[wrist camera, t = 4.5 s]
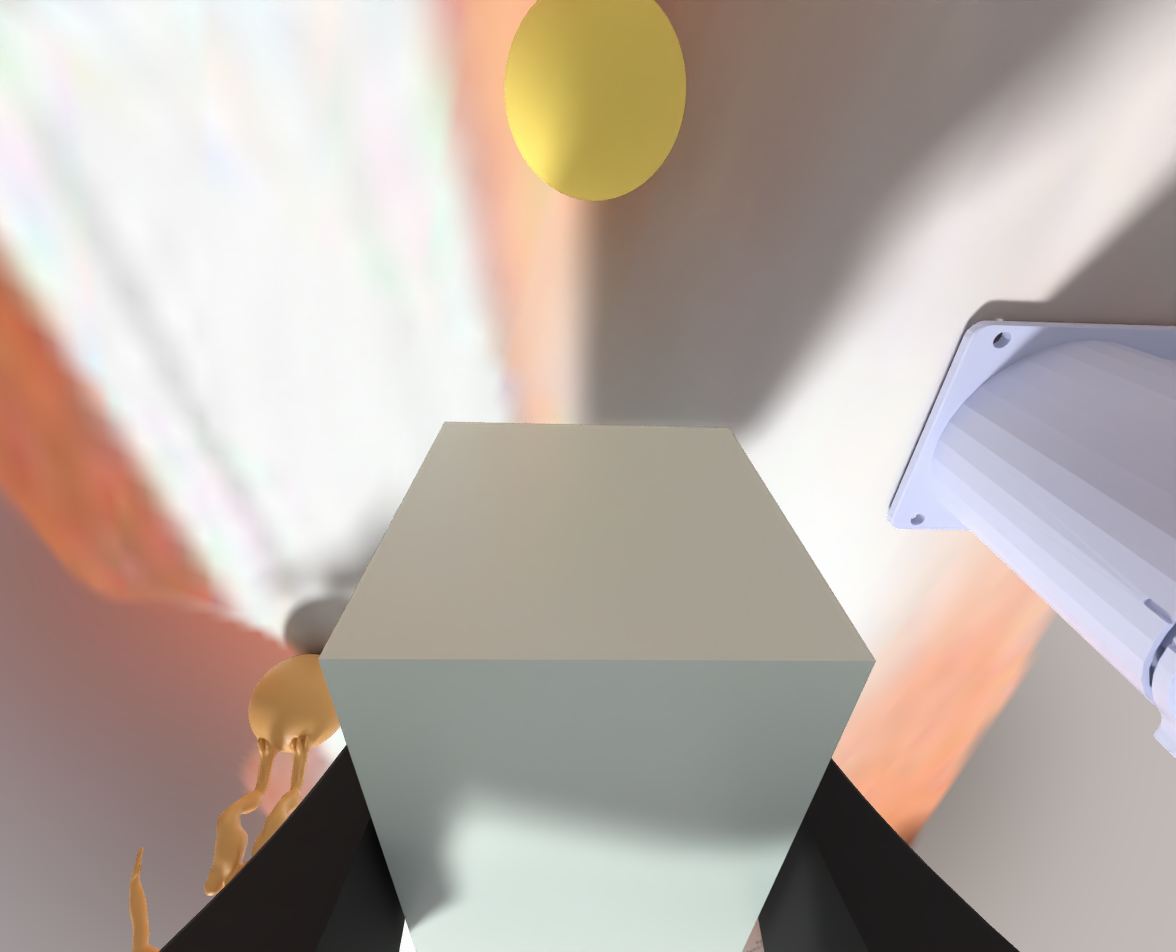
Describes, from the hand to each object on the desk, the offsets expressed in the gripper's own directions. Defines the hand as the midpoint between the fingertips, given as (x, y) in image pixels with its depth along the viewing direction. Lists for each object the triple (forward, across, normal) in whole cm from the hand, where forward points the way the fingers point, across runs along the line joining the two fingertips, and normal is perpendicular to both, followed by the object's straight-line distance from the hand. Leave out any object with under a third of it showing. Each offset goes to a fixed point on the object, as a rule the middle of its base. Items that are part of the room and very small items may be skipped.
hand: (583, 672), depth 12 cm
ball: (+7, 0, -11) cm, 13 cm away
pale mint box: (+2, 0, 0) cm, 2 cm away
